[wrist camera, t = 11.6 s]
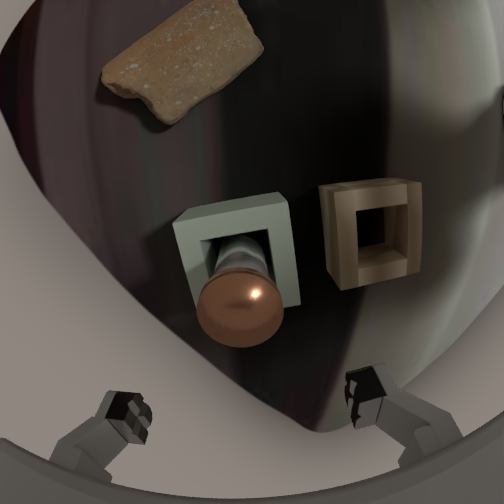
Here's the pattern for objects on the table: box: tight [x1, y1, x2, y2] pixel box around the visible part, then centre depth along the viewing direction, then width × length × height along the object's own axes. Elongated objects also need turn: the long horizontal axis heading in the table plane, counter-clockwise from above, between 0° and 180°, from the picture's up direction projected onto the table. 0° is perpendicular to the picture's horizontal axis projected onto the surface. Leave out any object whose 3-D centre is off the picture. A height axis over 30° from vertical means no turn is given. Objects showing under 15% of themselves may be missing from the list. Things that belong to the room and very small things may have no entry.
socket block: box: [172, 192, 301, 309], centre depth 25 cm, size 9×9×6 cm
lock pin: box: [197, 230, 284, 347], centre depth 22 cm, size 5×5×13 cm
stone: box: [101, 0, 264, 125], centre depth 20 cm, size 11×16×3 cm
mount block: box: [318, 177, 422, 290], centre depth 25 cm, size 9×9×5 cm
